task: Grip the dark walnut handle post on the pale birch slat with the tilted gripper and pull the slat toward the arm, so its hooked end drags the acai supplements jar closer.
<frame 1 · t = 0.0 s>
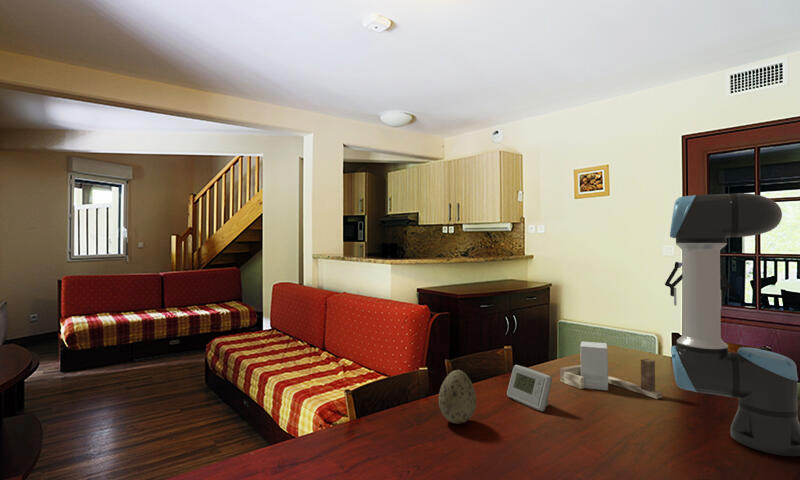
hand: (697, 306, 161), 28 cm above the table, tool pointing down, fingers open, 13 cm apart
hooked slat: (608, 372, 153), point 6 cm above the table, slide at 0.0 cm
decorative egg: (457, 423, 125), on the table
digital clock: (528, 404, 140), on the table
supplement box: (594, 386, 157), on the table
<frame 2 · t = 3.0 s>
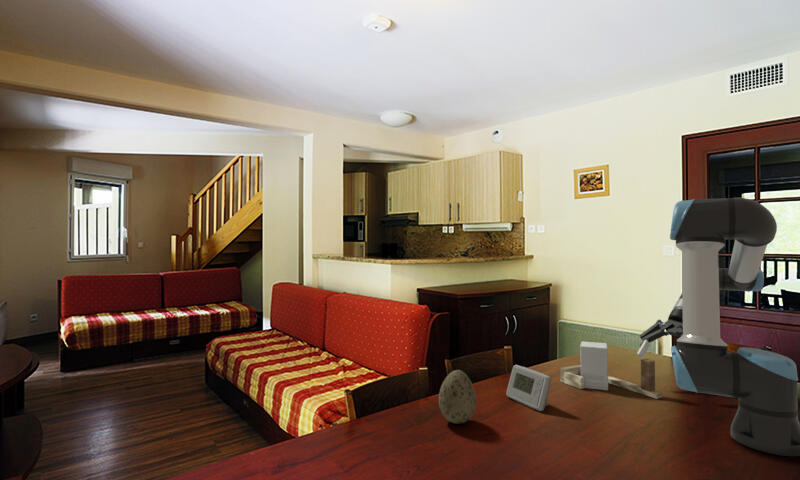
hand: (657, 360, 151), 11 cm above the table, tool tilted 45°, fingers open, 13 cm apart
nothing on the table moved.
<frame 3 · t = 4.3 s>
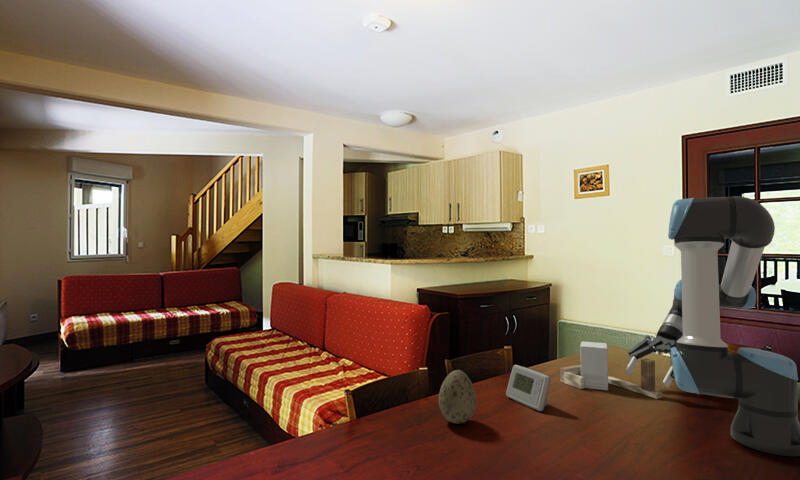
hand: (645, 378, 147), 5 cm above the table, tool tilted 45°, fingers open, 13 cm apart
nothing on the table moved.
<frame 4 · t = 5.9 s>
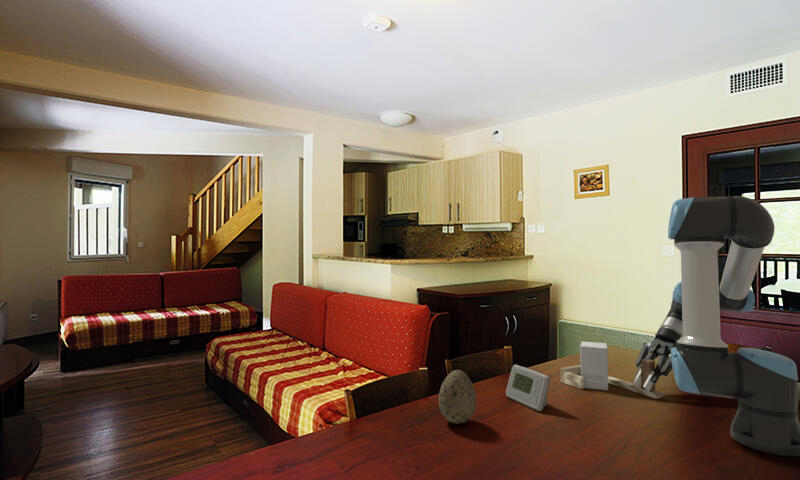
hand: (640, 387, 146), 3 cm above the table, tool tilted 45°, fingers closed on hooked slat, 3 cm apart
hooked slat: (608, 372, 153), point 6 cm above the table, slide at 0.0 cm, touching gripper
everything else where it was.
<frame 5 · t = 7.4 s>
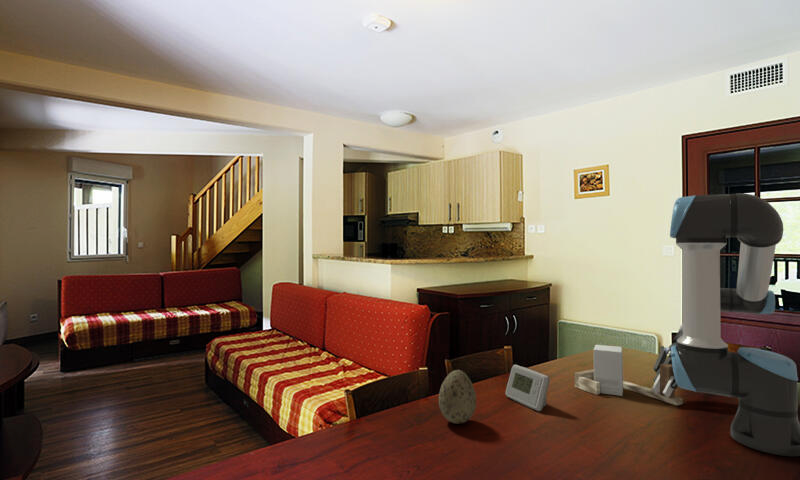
hand: (659, 393, 140), 3 cm above the table, tool tilted 45°, fingers closed on hooked slat, 3 cm apart
hooked slat: (625, 377, 147), point 6 cm above the table, slide at 6.6 cm, touching gripper, supplement box
supplement box: (608, 391, 152), on the table, touching hooked slat
everything else where it was.
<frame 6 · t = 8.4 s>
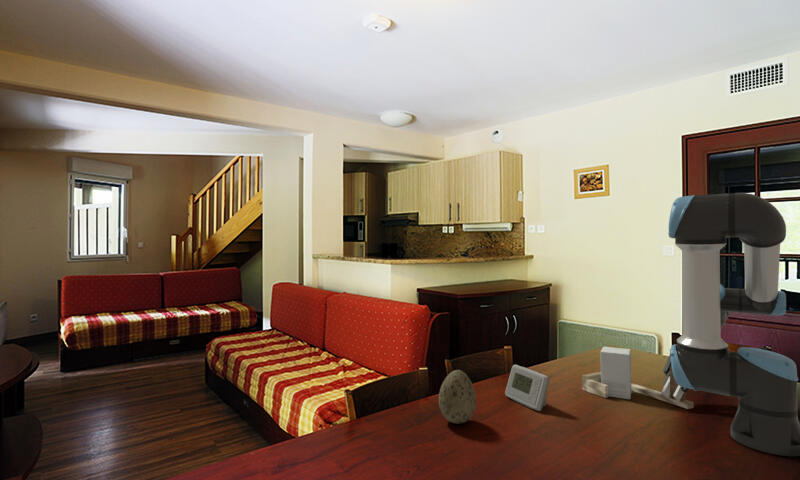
hand: (670, 396, 137), 3 cm above the table, tool tilted 45°, fingers closed on hooked slat, 3 cm apart
hooked slat: (634, 380, 144), point 6 cm above the table, slide at 9.9 cm, touching gripper, supplement box
supplement box: (616, 394, 149), on the table, touching hooked slat
everything else where it was.
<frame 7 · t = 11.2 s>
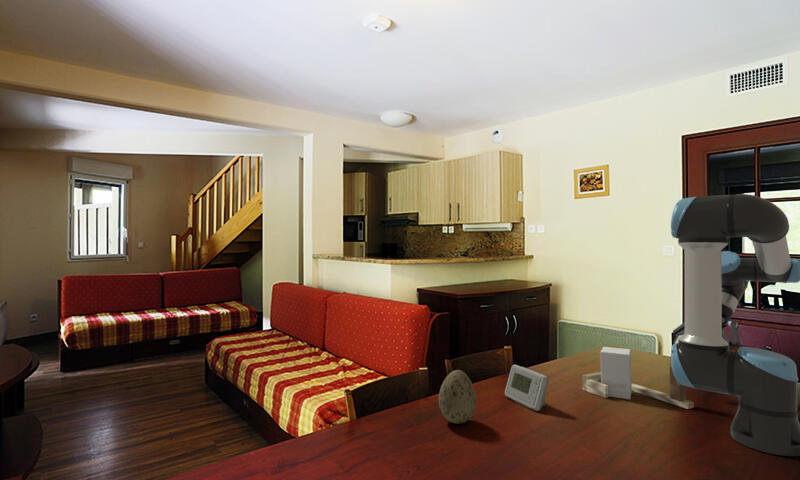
hand: (695, 357, 143), 14 cm above the table, tool tilted 45°, fingers open, 13 cm apart
hooked slat: (634, 380, 144), point 6 cm above the table, slide at 9.9 cm
supplement box: (616, 394, 149), on the table
everything else where it was.
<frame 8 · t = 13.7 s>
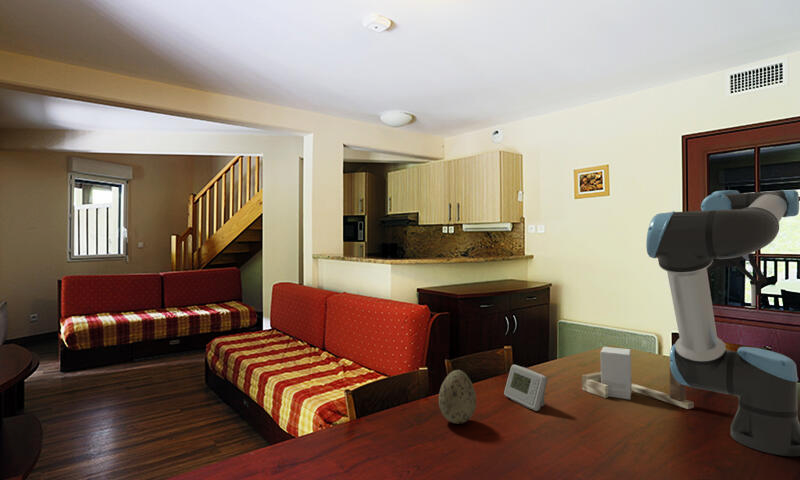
hand: (726, 304, 141), 32 cm above the table, tool pointing down, fingers open, 13 cm apart
at the end: hooked slat slide at 9.9 cm; supplement box inside the target area (1.0 cm from its centre), on the table; supplement box tilted 0° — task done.
